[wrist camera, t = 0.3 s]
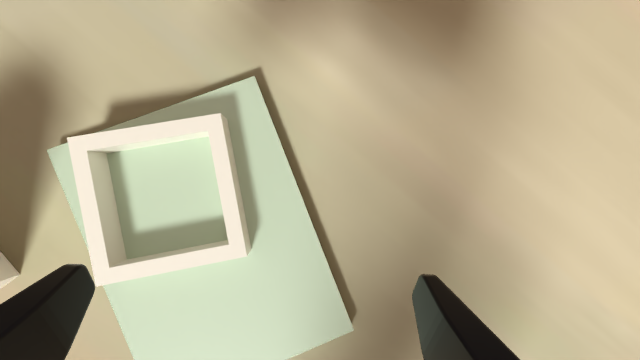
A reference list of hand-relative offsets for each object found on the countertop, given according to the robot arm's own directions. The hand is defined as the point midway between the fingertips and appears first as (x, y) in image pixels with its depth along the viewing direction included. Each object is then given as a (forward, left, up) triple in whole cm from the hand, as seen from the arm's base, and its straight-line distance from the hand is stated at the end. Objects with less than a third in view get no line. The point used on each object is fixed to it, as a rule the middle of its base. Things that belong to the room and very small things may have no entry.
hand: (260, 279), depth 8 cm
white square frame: (+4, +7, -15) cm, 17 cm away
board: (0, +6, -15) cm, 16 cm away
